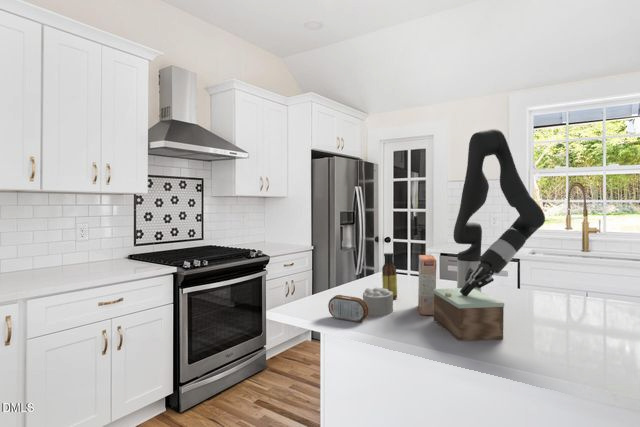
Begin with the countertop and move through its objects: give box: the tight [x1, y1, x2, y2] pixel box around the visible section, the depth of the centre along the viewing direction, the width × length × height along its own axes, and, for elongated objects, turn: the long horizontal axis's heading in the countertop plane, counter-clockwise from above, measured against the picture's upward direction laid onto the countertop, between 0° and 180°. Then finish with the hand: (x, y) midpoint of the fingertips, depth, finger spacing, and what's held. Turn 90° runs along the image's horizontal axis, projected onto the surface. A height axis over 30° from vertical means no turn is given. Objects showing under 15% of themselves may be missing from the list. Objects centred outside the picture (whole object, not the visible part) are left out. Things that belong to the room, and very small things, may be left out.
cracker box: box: [417, 254, 437, 316], centre depth 149 cm, size 14×6×21 cm, turn 168°
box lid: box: [433, 287, 505, 308], centre depth 127 cm, size 14×21×2 cm
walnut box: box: [433, 293, 505, 342], centre depth 127 cm, size 14×20×10 cm
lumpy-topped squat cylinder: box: [362, 287, 394, 318], centre depth 148 cm, size 10×13×9 cm
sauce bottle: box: [381, 252, 398, 300], centre depth 168 cm, size 6×6×20 cm
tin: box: [327, 294, 368, 323], centre depth 138 cm, size 15×3×8 cm, turn 59°
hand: (462, 294), depth 126 cm, fingers closed
